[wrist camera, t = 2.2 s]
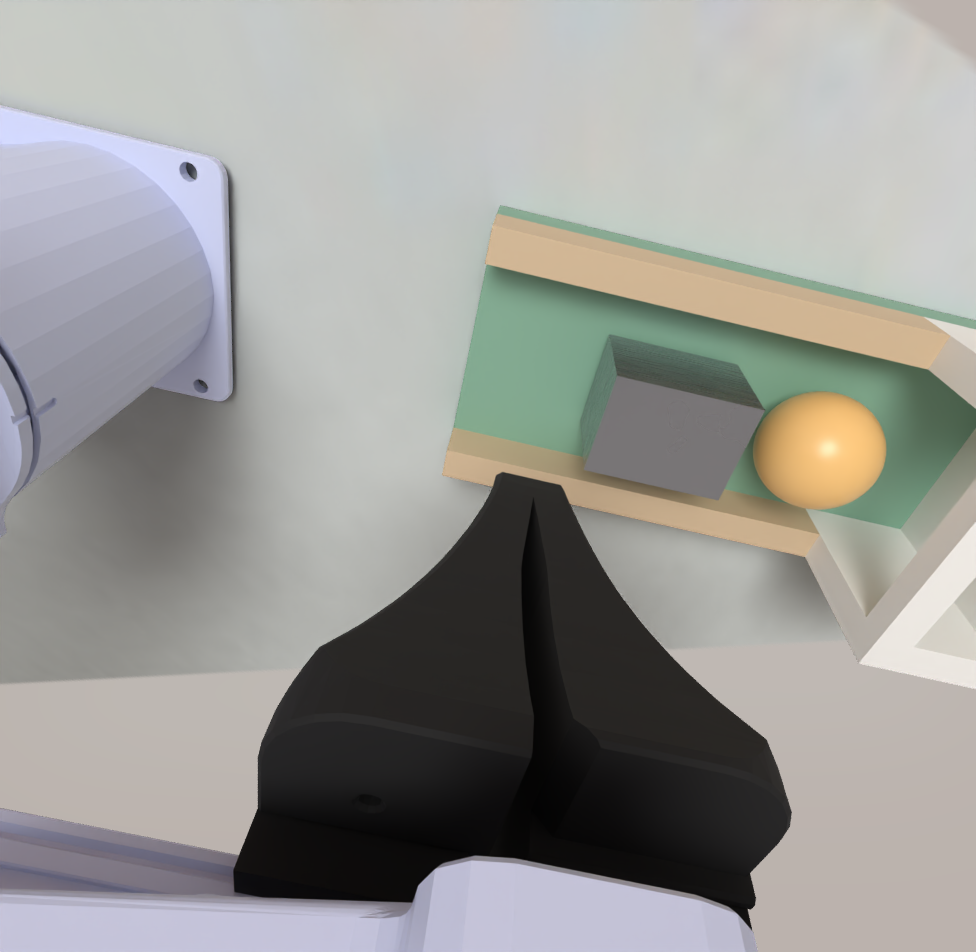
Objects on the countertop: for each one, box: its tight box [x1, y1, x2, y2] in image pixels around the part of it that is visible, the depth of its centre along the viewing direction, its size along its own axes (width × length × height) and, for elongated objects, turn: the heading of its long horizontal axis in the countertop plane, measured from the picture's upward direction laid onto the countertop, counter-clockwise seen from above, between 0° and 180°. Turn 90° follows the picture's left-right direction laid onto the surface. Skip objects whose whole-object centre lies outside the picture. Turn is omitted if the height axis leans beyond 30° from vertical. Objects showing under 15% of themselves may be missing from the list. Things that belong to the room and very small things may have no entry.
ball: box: [753, 391, 886, 510], centre depth 19 cm, size 4×4×4 cm
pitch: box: [442, 205, 976, 689], centre depth 18 cm, size 17×8×7 cm, turn 78°
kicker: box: [580, 334, 765, 500], centre depth 18 cm, size 4×3×3 cm
